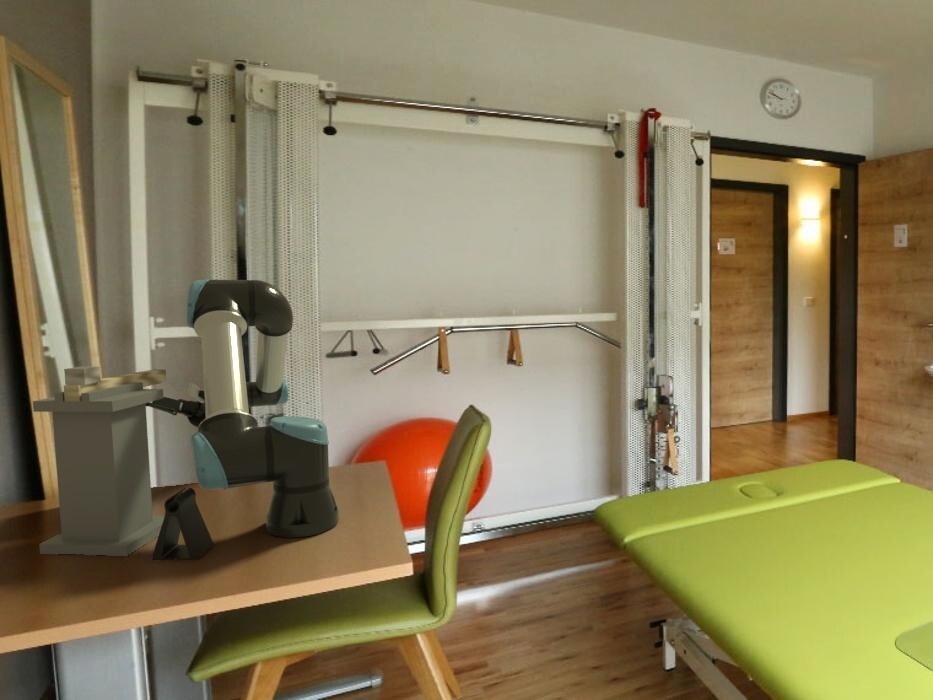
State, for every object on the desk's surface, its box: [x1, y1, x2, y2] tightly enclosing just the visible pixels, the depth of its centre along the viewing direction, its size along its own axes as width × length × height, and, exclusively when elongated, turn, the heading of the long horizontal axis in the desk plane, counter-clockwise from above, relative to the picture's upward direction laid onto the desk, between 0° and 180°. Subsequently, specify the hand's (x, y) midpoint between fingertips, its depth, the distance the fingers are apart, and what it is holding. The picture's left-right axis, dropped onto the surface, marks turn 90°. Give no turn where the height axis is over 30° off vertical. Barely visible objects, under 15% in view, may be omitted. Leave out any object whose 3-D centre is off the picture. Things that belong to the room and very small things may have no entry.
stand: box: [32, 382, 165, 557], centre depth 112 cm, size 15×18×32 cm
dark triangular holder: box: [151, 487, 214, 561], centre depth 106 cm, size 9×6×12 cm, turn 90°
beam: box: [63, 366, 167, 401], centre depth 116 cm, size 26×4×6 cm, turn 175°
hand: (162, 388), depth 131 cm, fingers open, 13 cm apart
